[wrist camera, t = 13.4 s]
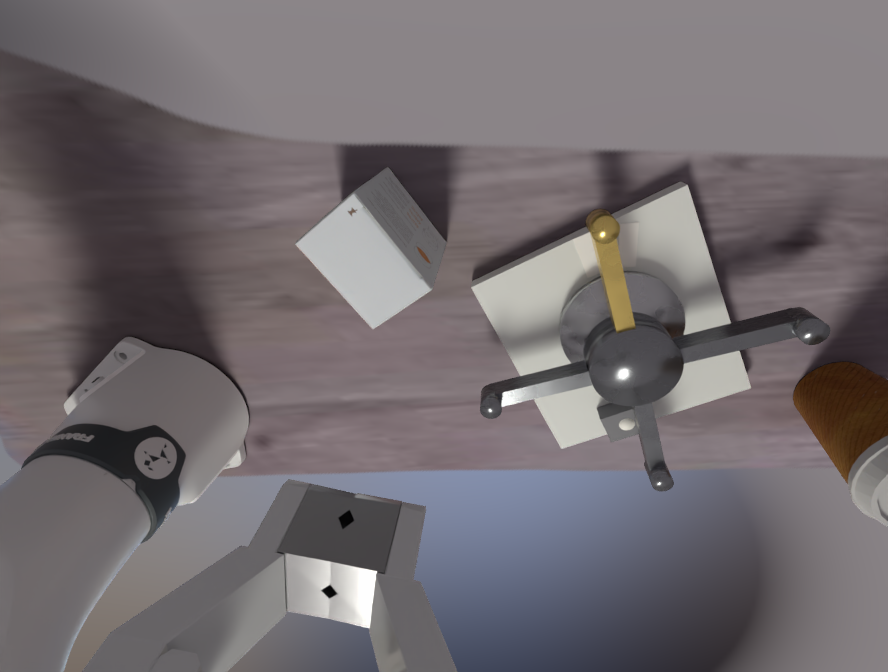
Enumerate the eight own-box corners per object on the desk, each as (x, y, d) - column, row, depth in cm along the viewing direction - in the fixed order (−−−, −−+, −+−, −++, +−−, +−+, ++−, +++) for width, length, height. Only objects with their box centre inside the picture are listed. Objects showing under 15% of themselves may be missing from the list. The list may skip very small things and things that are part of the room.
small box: (340, 206, 38) (289, 242, 29) (389, 164, 36) (351, 189, 27) (400, 278, 41) (371, 333, 31) (449, 243, 39) (433, 290, 29)
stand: (559, 439, 47) (564, 463, 44) (471, 280, 40) (469, 297, 37) (743, 378, 42) (763, 402, 38) (680, 181, 34) (698, 189, 31)
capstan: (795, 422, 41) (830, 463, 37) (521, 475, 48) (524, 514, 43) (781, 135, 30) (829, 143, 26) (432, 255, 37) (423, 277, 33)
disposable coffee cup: (881, 327, 38) (1027, 418, 27) (901, 407, 41) (1037, 515, 31) (760, 373, 41) (849, 468, 31) (788, 443, 45) (877, 551, 34)
